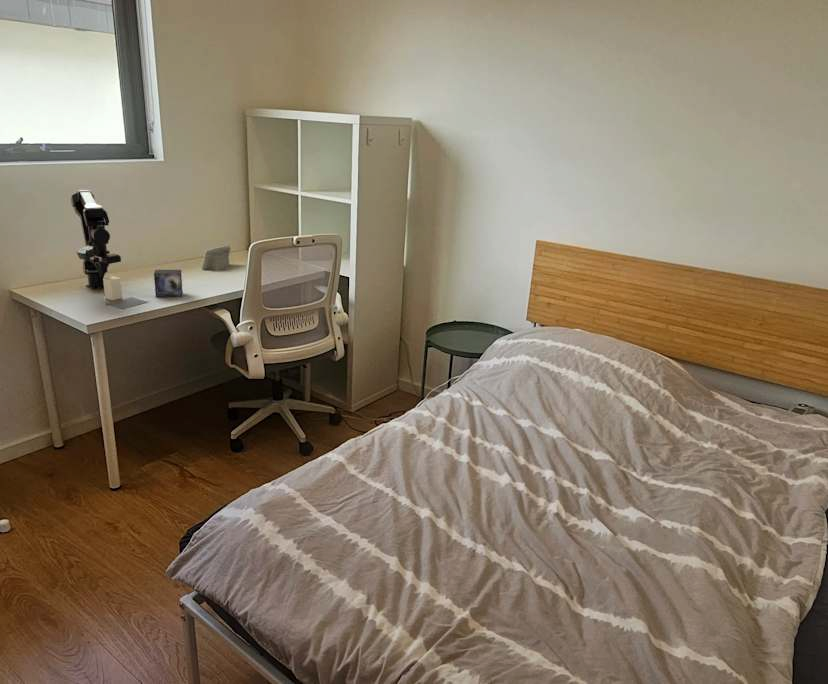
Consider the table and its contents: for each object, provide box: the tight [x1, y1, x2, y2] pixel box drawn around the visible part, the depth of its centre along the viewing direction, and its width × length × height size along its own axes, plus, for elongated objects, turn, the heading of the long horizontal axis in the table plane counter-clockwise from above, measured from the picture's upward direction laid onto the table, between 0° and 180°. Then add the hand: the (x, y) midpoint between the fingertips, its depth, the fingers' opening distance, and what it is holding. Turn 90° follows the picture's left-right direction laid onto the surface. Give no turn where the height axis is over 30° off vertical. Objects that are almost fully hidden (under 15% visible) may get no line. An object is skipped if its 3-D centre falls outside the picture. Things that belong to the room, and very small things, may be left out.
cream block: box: [103, 275, 123, 302], centre depth 247 cm, size 4×4×9 cm
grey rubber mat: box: [105, 296, 148, 310], centre depth 245 cm, size 10×12×1 cm
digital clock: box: [201, 245, 231, 272], centre depth 303 cm, size 16×9×11 cm, turn 141°
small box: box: [153, 269, 184, 298], centre depth 257 cm, size 11×6×10 cm, turn 106°
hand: (102, 276), depth 248 cm, fingers closed
